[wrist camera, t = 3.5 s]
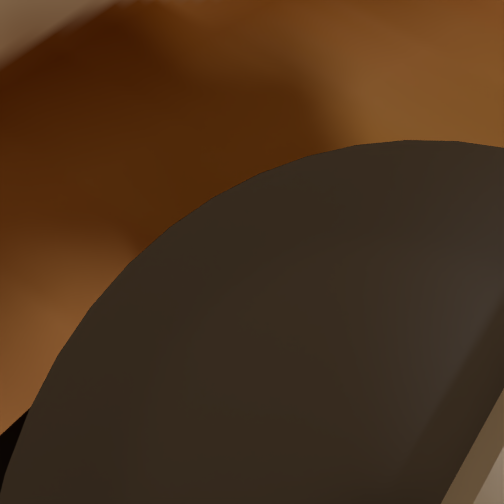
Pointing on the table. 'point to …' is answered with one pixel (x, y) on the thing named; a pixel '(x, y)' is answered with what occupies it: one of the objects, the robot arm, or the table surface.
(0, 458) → the robot arm
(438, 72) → the table surface
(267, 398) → the knob
